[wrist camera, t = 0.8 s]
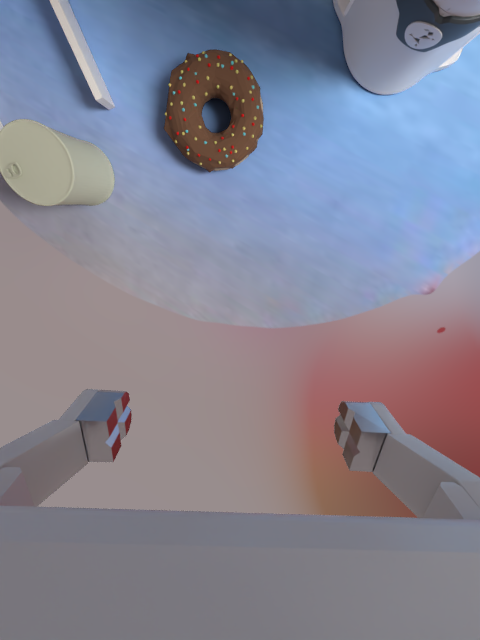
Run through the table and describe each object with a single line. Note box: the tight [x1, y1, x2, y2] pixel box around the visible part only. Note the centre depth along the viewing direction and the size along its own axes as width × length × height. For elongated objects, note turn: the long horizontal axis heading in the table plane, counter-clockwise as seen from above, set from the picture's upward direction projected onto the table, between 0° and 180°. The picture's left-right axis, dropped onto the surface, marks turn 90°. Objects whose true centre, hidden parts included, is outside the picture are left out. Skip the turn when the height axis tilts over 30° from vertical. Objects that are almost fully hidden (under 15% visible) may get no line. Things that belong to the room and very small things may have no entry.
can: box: [0, 119, 114, 206], centre depth 37 cm, size 9×9×12 cm
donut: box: [164, 50, 263, 172], centre depth 38 cm, size 14×14×5 cm
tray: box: [0, 0, 115, 131], centre depth 35 cm, size 17×18×4 cm
